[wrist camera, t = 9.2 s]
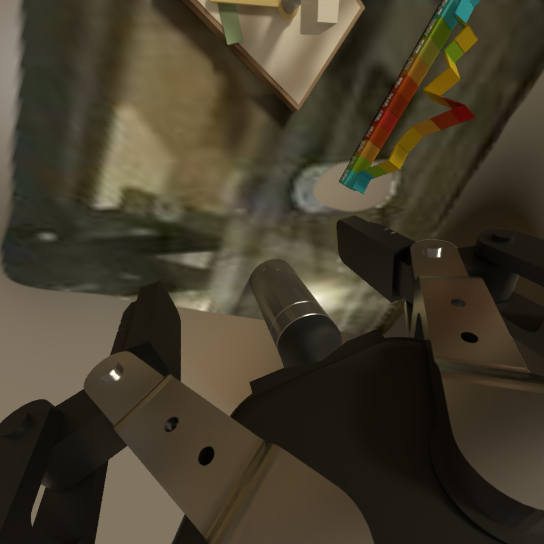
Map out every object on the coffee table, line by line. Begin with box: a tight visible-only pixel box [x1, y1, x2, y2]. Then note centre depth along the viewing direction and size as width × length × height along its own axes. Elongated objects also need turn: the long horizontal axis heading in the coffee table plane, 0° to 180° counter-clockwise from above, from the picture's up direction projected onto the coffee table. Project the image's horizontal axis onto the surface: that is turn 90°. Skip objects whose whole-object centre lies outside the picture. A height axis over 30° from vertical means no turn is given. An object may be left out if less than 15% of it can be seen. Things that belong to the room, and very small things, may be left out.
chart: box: [339, 0, 480, 194], centre depth 36 cm, size 30×3×15 cm, turn 151°
